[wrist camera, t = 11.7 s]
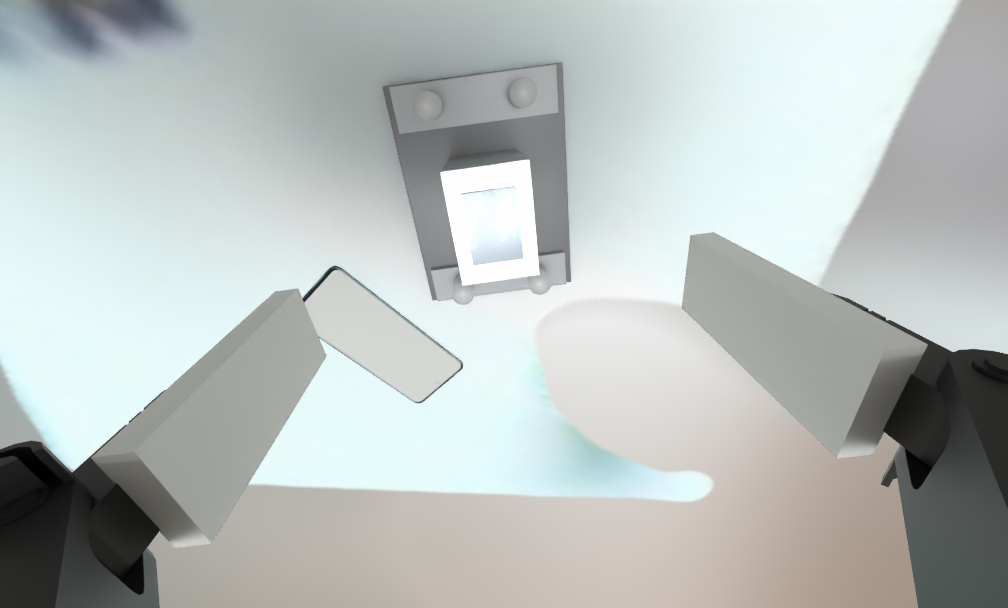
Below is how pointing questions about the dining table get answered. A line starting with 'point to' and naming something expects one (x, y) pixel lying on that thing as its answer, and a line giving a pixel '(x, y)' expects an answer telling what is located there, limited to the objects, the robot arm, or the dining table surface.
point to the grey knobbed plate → (476, 130)
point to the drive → (491, 215)
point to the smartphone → (378, 336)
